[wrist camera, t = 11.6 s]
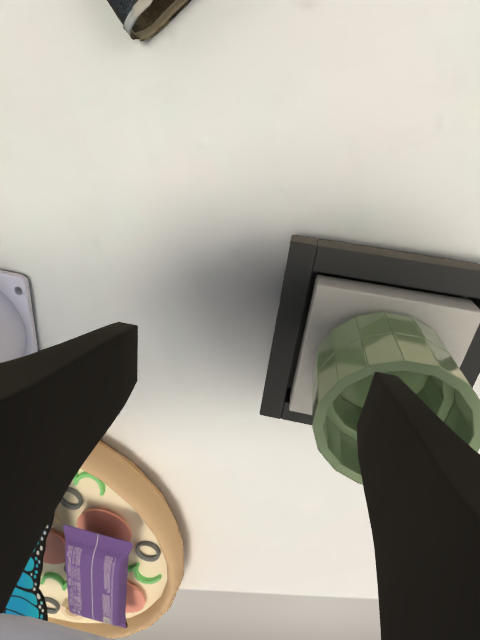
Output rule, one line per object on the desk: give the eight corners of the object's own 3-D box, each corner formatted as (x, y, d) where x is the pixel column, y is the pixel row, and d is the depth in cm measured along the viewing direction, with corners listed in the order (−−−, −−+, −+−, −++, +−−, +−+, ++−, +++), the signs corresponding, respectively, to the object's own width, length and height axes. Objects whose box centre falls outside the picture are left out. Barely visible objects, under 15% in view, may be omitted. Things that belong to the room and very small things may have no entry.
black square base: (426, 416, 23) (442, 452, 20) (265, 384, 24) (259, 414, 21) (494, 258, 19) (525, 278, 16) (293, 227, 20) (290, 241, 17)
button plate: (420, 419, 20) (428, 439, 19) (290, 393, 21) (288, 410, 20) (471, 299, 17) (485, 313, 16) (316, 273, 18) (317, 284, 16)
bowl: (420, 426, 19) (450, 504, 15) (302, 402, 19) (300, 471, 15) (465, 320, 16) (516, 380, 12) (327, 297, 17) (332, 347, 13)
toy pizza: (163, 671, 35) (-81, 599, 37) (173, 634, 38) (-55, 568, 40) (198, 481, 24) (-149, 391, 26) (208, 448, 27) (-107, 368, 29)
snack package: (76, 599, 32) (132, 615, 32) (62, 625, 30) (122, 643, 30) (70, 511, 27) (138, 529, 27) (54, 536, 25) (126, 556, 25)
